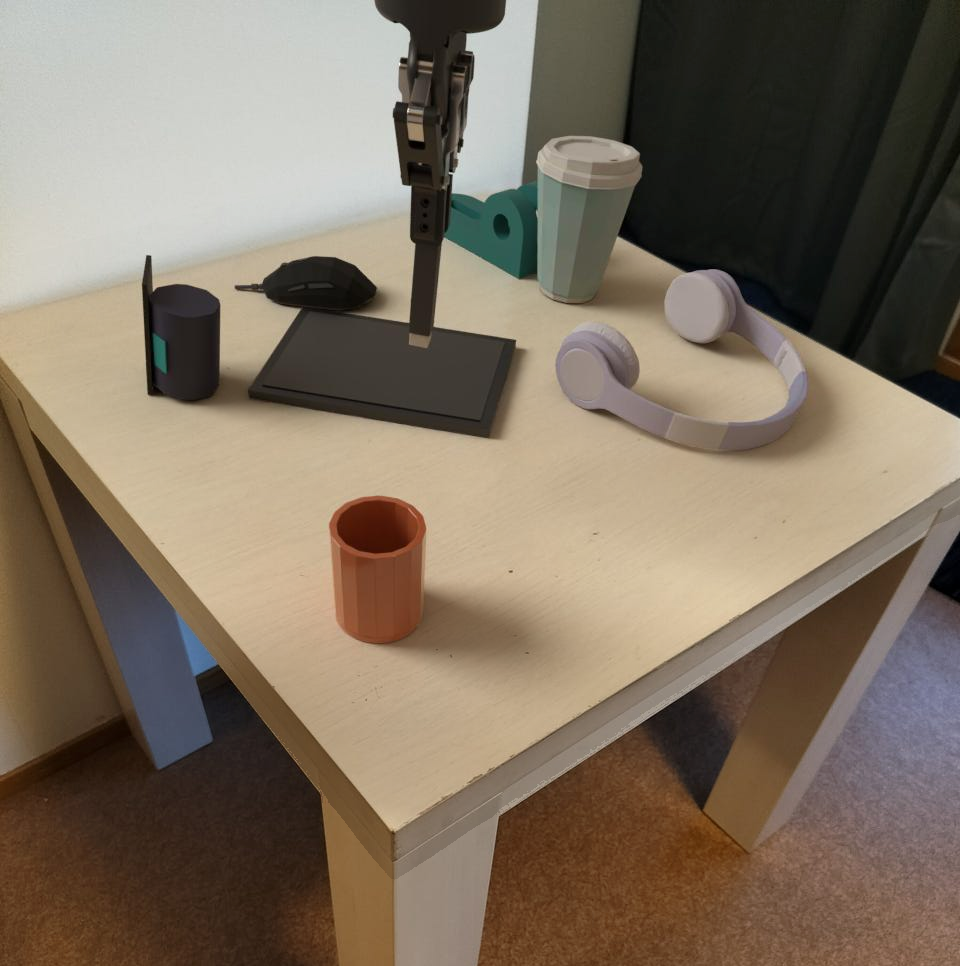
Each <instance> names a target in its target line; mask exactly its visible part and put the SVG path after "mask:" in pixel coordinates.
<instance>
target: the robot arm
mask: <svg viewBox="0 0 960 966" xmlns="http://www.w3.org/2000/svg"><path fill="white" fill-rule="evenodd" d="M374 6H375V8H376V10H377V12H378V13H379V14H380V15H381V16H382V17H383V18H384V19H386V20H387V21H389V22H391V23H393V24H400V25H402V26H403V27H404V28H405V29H406V30H407V31H408V32H409V38H410V39H409V42H408V51H407V57H406V56H401V57H400V58H399V63H398V78H397V79H398V81H397V83H398V85H397V86H398V87H397V88H398V90H399V93H400V94H401V101H399V100H396V102H395V104H394V107H393V108H392V119H393V125H394V132H395V140H396V149H397V156H398V165H399V171H400V172H399V173H400V179H401V185H402V186H407V187H410V215H409V219H410V222H409V239H410V241H411V242H412V243H413V244H414V245H415V244H418V245H425V246H431V247H438V246H440V245H441V243H442V244H443V241H444V239H445V237H444V233H446V232H447V230H448V228H449V226H450V214H451V198H452V193H453V181H454V174H455V173H456V169H457V168H458V166H459V158H458V154H460V153H461V151H462V148H463V147H464V133H465V130H466V128H467V124H468V109H469V94H470V87H471V85H472V82H473V80H474V76H475V54H474V51H472V50H466V49H467V41H468V40H467V38H468V37H467V36H468V35H470V34H471V35H472V34H479V33H483V32H488V31H491V30H494V29H495V28H497V27H498V26H500V25H501V23H502V22H503V20H504V18H505V15H506V6H507V0H374ZM449 160H450V166H449ZM422 163H423V164H428V165H429V166H424V165H421V164H422ZM448 175H449V176H448ZM447 185H448V187H447ZM446 194H447V197H446Z"/></svg>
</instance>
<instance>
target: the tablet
mask: <svg viewBox="0 0 960 966" xmlns="http://www.w3.org/2000/svg"><path fill="white" fill-rule="evenodd" d="M409 339H410V333H409V322H405V321H400V320H393V319H386V318H380V317H373V316H366V315H361V314H355V313H349V312H342V311H337V310H331V309H322V308H314V307H304V306H301V309H300V310H299V312H298V313H297V315H296V316H295V318H294V319H293V321H292V322H291V324H290V325H289V327H288V328H287V330H286V331H285V332H284V334H283V335H282V338H281V339H280V340H279V342H278V344H277V345H276V346H275V348H274V349H273V351H272V353H271V354H270V355H269V357H268V359H267V360H266V361H265V363H264V365H263V366H262V367H261V370H259V372H258V374H257V375H256V377H255V378H254V380H253V381H252V382H251V384H250V385H249V388H248V389H247V392H248V393H247V394H248V399H249V400H257V401H262V402H268V403H275V404H280V405H287V406H292V407H293V406H294V407H298V408H299V407H300V408H305V409H311V410H317V411H322V412H323V411H324V412H330V413H335V414H336V413H337V414H342V415H348V416H353V417H354V416H355V417H361V418H366V419H372V420H378V421H383V422H384V421H385V422H390V423H396V424H402V425H408V426H415V427H421V428H426V429H431V430H432V429H433V430H437V431H438V430H439V431H445V432H450V433H457V434H462V435H463V434H464V435H469V436H475V437H482V438H487V439H488V438H490V434H491V432H492V428H493V426H494V422H495V418H496V415H497V412H498V408H499V405H500V401H501V398H502V394H503V391H504V388H505V384H506V382H507V377H508V376H509V375H508V374H509V371H510V368H511V365H512V361H513V358H514V354H515V351H516V348H517V347H516V346H517V339H515V338H507V337H501V336H495V335H490V334H489V335H488V334H483V333H482V334H481V333H475V332H469V331H462V330H456V329H450V328H445V327H444V328H443V327H437V326H434V327H433V329H432V333H431V340H430V343H429V345H428V348H423V347H418V346H413V345H409Z"/></svg>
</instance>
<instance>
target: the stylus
mask: <svg viewBox="0 0 960 966" xmlns="http://www.w3.org/2000/svg"><path fill="white" fill-rule="evenodd" d="M421 165H424V166H429V165H428V164H423V163H422V164H421ZM449 166H450V160H449ZM448 176H449V175H448ZM447 187H448V185H447ZM446 197H447V194H446ZM442 245H443V242H442V243H441V245H440V246H438V247H431V246H425V245H418V244H415V243H414V256H413V267H412V279H411V280H412V281H411V295H410V307H409V318H408V319H409V320H408V321H409V322H408V323H409V333H410V339H409V345H413V346H418V347H423V348H428V345H429V343H430V340H431V333H432V329H433V327H435V317H436V308H437V307H436V306H437V297H438V285H439V277H440V266H441V257H442Z"/></svg>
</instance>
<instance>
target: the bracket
mask: <svg viewBox="0 0 960 966" xmlns="http://www.w3.org/2000/svg"><path fill="white" fill-rule="evenodd" d="M537 213H538V180H535V181H532V182H529V183H526V184H523V185H520V186H518V187H517V188H509V189H505V190H501V191H498V192H495V193H492V194H490V195H489V196H487V198H486V199H485V200H484V201H482V200H480V199H478V198H476V197H473V196H471V195H467V194H464V193H463V194H462V193H455V192H454V193H453V192H452V198H451V214H450V226H449V228H448V230H447V232H446V233H444V238H445V239H447V240H448V241H451V242H453V243H454V244H456V245H458V246H460V247H462V248H464V250H467V251H469V252H470V253H472V254H474V255H476V256H477V257H479V258H481V259H482V260H485V261H486V262H488V263H490V264H491V265H493V266H495V267H496V268H499V269H501V270H502V271H504V272H506V273H508V274H509V275H511V276H513V277H515V278H516V279H518V280H520V279H522V278H525V277H527V276H530V275H533V274H536V273H538V214H537Z"/></svg>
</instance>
